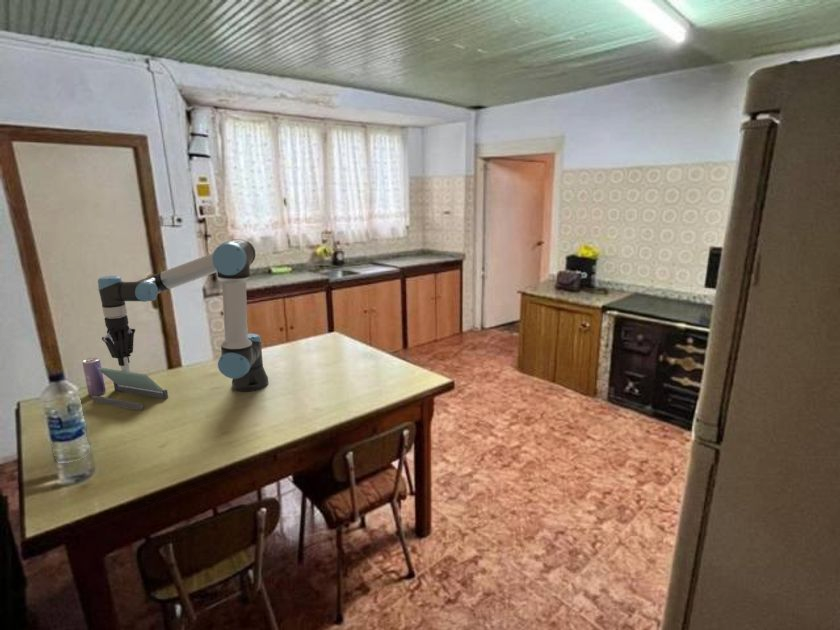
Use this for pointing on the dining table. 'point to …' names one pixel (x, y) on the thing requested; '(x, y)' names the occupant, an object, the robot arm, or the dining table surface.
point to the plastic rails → (130, 390)
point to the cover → (131, 379)
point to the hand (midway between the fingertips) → (125, 372)
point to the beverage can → (94, 377)
